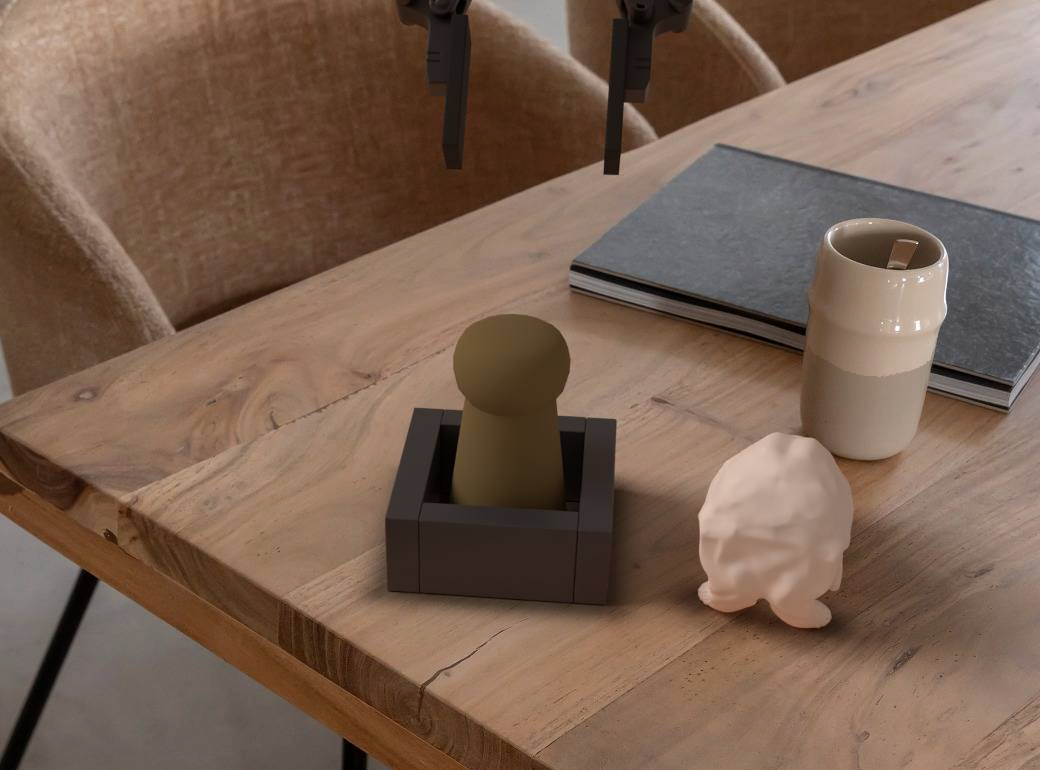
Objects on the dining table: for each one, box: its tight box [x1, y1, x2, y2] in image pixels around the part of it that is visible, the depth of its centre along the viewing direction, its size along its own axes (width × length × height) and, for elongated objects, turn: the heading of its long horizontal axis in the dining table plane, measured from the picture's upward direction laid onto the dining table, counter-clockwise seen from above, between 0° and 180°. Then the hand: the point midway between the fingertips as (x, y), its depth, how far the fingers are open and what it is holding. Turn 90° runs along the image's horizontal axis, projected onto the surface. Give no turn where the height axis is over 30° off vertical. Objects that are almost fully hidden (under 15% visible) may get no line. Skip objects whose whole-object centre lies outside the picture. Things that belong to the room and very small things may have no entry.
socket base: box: [384, 407, 618, 606], centre depth 69 cm, size 10×10×4 cm
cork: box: [448, 313, 572, 511], centre depth 67 cm, size 6×6×11 cm
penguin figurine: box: [697, 431, 855, 629], centre depth 65 cm, size 6×8×12 cm
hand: (531, 159), depth 69 cm, fingers open, 7 cm apart
